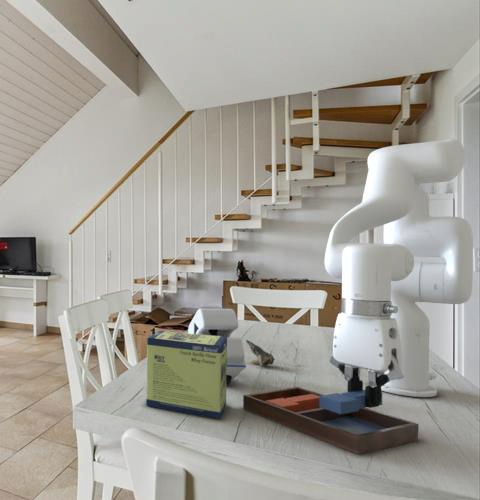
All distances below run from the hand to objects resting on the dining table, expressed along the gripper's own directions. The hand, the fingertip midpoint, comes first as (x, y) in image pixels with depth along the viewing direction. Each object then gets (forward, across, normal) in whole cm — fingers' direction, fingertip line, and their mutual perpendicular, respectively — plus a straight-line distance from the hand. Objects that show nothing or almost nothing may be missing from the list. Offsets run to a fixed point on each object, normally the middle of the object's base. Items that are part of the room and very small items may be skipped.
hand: (363, 403), depth 92 cm
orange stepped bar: (+5, +12, +3) cm, 13 cm away
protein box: (+6, +24, +21) cm, 32 cm away
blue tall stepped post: (0, 0, +3) cm, 3 cm away
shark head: (+6, +44, -24) cm, 50 cm away
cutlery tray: (+6, +6, +3) cm, 9 cm away
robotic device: (+6, +38, -1) cm, 38 cm away
